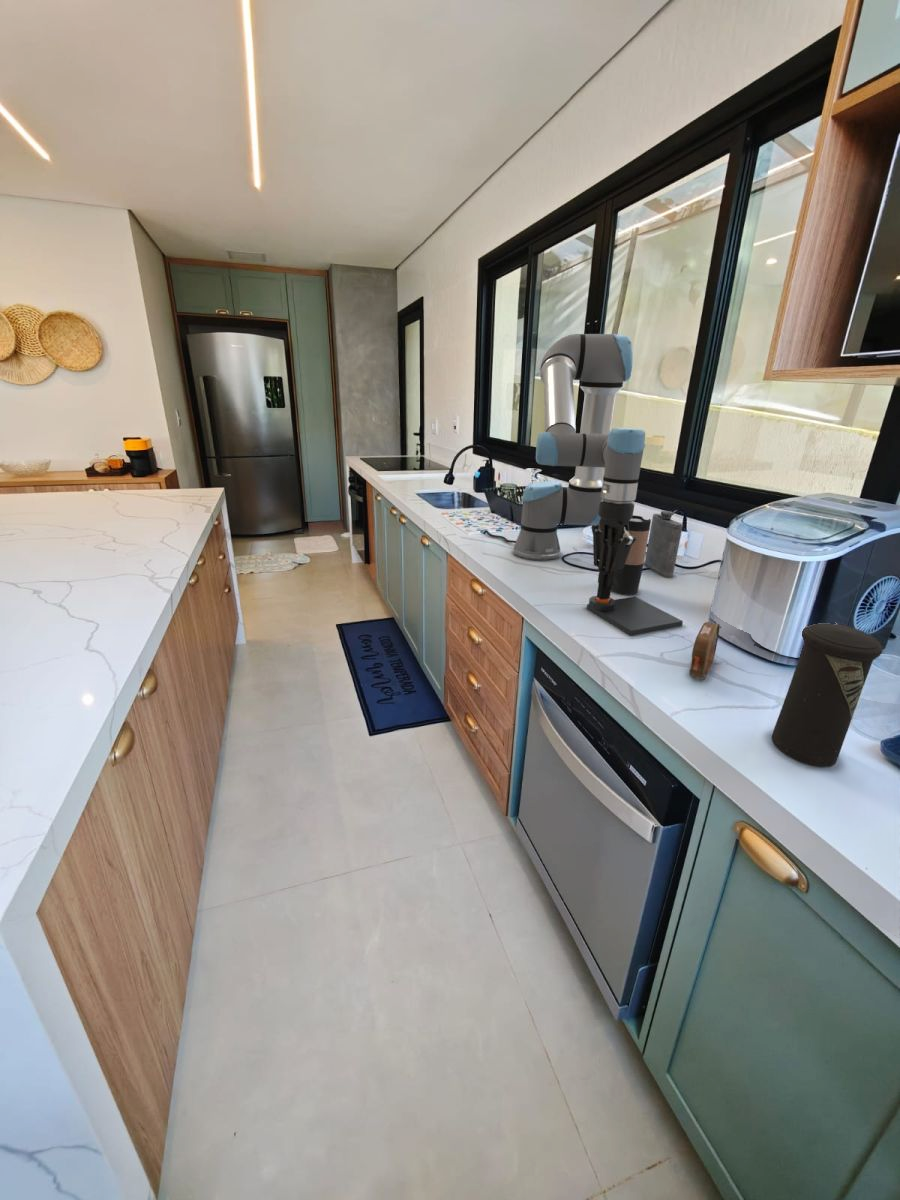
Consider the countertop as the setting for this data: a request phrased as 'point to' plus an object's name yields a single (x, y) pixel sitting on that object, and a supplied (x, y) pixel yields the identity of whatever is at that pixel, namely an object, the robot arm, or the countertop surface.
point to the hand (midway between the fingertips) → (603, 597)
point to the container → (824, 692)
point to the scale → (633, 615)
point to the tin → (704, 650)
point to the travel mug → (633, 558)
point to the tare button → (602, 600)
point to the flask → (663, 544)
